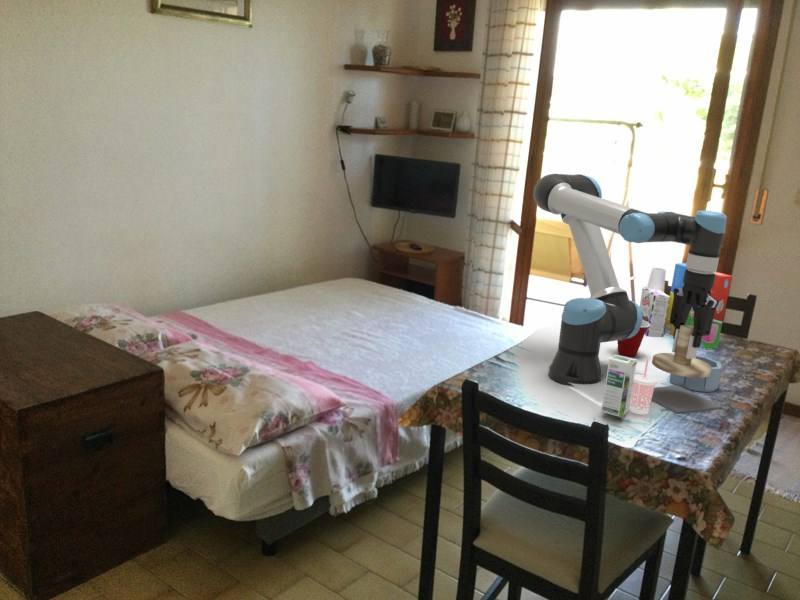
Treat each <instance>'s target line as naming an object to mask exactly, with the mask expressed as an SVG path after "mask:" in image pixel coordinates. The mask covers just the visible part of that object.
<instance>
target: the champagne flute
mask: <svg viewBox="0 0 800 600" xmlns="http://www.w3.org/2000/svg"><path fill="white" fill-rule="evenodd" d="M666 274H667V270H666V269H665V268H662V267H652V268H651V271H650V275H649V278H648V283H647V286H646V287H647V288H648V289H651V290H658V291H662V292H664V293H665V286H666Z"/></svg>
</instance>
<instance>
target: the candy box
mask: <svg viewBox="0 0 800 600" xmlns="http://www.w3.org/2000/svg"><path fill="white" fill-rule="evenodd" d="M641 290H642V291H641V297H640V301H639V307H640V309H641V312H642V320H644V321H646V322H648V323H649V324H650V327H648V329H647V330H646V332H645V334H644V336H646V337H648V338H649V337H652V338H663V335H664V332H663V331H664V325H665V320H666V315H667V310H668V305H669V299H670V295H668V294H666V293H665V291H664V292H662V291H658V290H651V289H648V288H647V286H642V289H641Z"/></svg>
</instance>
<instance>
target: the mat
mask: <svg viewBox="0 0 800 600" xmlns="http://www.w3.org/2000/svg"><path fill="white" fill-rule="evenodd" d="M651 402H654V403H655V404H658V405H659V406H661V407H663V408H665V409H667V410H669V411H670V412H673V413H675V414H676V415H677V414H678V415H679V414H688V413H695V412H696V413H697V412H702V411H703V412H704V411H712V410H720V409H721V410H722V409H723V406H722V405H720V404H718V403H716V402H714V401H711V400H709V399H707V398H705V397H703V396H702V395H699V394H697V393H695V392H694V391H692V390H688V389H685V388H682V387H680V386H678V385H666V386H657V387H654V391H653V395H652V399H651Z"/></svg>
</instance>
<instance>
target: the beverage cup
mask: <svg viewBox="0 0 800 600" xmlns="http://www.w3.org/2000/svg"><path fill="white" fill-rule="evenodd" d="M648 364H649V359H646V360H645V367H644V373H643V374H641V373H639V374H637V373H635V375H634V381H633V387H632V393H631V399H630V405H629V411H630V412H631V413H633V414H637V415H642V416H643V415H648V414H649V410H650V406H651V402H652V400H651V399H652V395H653V391H654V388H655V386H657V382H658V380H657V378H655V377H653V376H650V375H647V370H648Z"/></svg>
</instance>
